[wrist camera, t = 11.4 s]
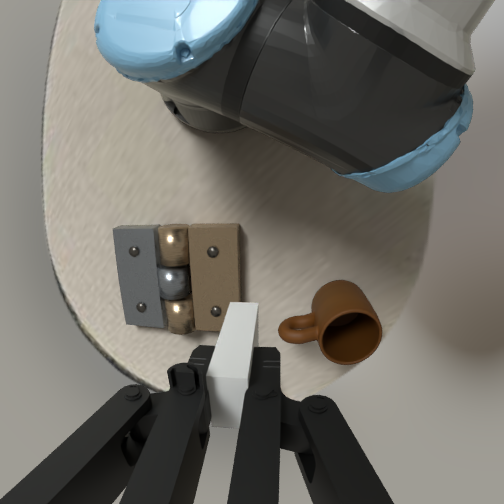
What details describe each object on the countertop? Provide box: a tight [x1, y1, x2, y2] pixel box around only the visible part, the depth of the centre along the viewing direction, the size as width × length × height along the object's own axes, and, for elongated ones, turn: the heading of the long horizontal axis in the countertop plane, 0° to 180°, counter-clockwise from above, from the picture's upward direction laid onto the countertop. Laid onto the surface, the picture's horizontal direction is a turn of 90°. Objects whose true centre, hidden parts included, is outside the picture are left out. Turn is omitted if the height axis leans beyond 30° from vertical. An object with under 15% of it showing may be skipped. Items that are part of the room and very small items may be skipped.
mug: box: [278, 280, 382, 365], centre depth 38 cm, size 12×8×9 cm, turn 93°
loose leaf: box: [113, 225, 190, 328], centre depth 42 cm, size 14×10×4 cm
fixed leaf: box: [158, 224, 241, 335], centre depth 41 cm, size 14×10×4 cm
